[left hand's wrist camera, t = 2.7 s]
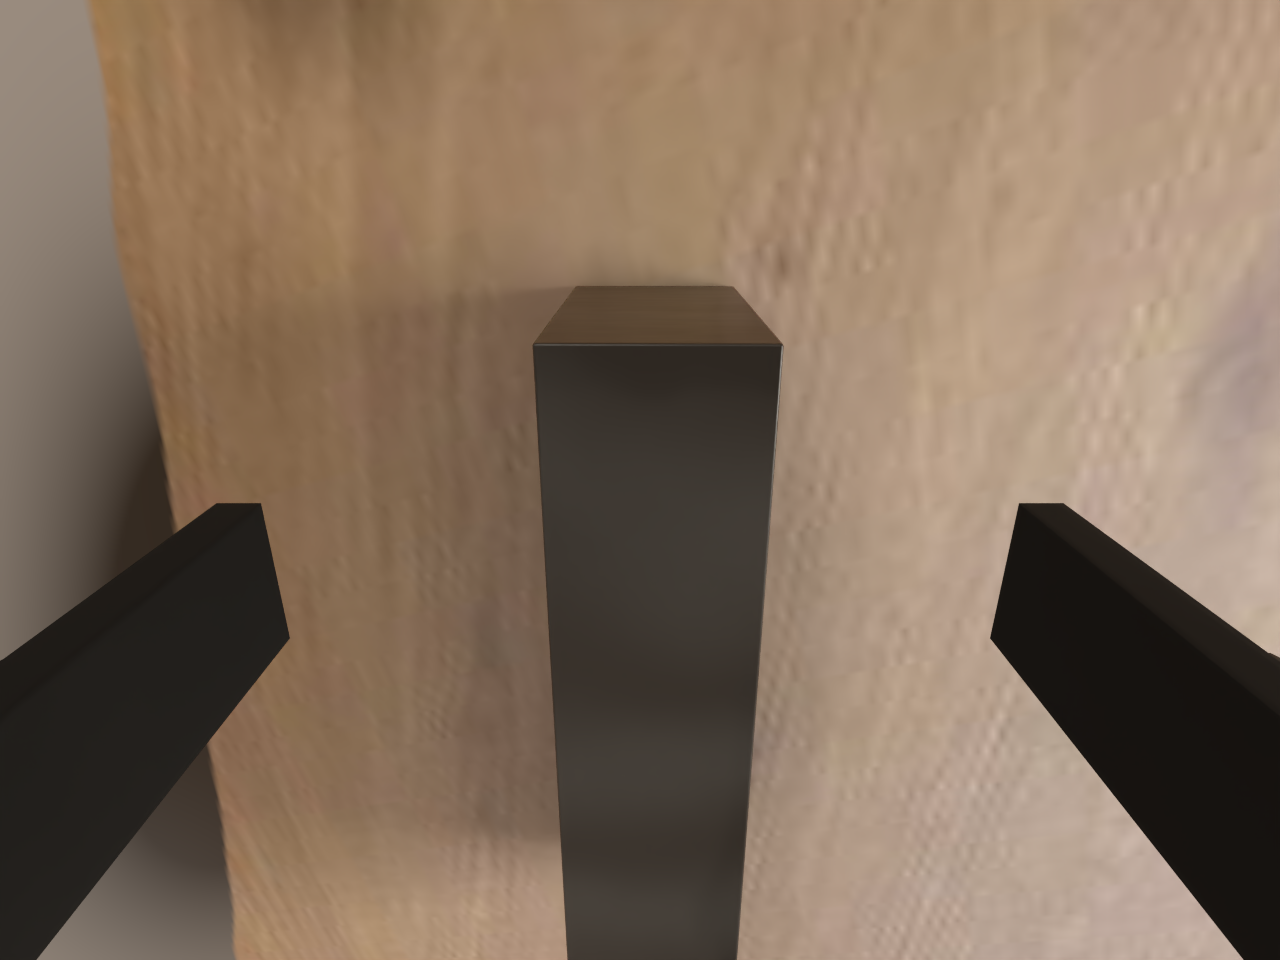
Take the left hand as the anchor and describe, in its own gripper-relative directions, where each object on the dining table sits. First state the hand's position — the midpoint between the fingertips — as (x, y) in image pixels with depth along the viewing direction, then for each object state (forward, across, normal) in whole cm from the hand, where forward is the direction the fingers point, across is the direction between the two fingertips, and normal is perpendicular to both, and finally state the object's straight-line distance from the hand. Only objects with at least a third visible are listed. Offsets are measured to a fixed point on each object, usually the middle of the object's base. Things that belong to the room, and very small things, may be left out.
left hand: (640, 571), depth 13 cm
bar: (+12, 0, -8) cm, 15 cm away
